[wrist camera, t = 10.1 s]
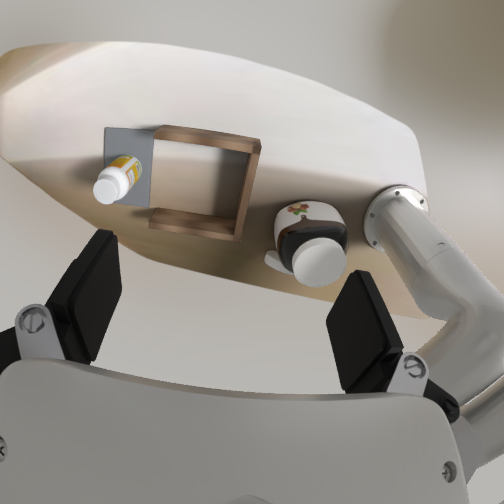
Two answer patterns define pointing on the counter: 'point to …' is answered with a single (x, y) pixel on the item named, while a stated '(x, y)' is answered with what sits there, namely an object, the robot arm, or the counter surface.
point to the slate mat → (139, 147)
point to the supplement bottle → (117, 179)
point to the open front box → (205, 223)
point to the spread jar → (309, 243)
